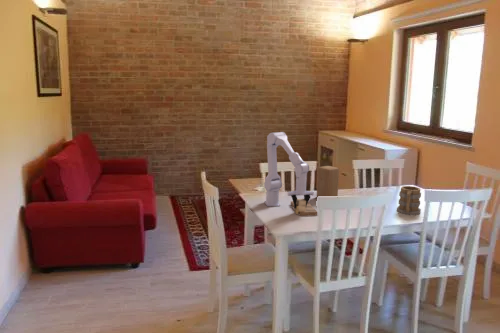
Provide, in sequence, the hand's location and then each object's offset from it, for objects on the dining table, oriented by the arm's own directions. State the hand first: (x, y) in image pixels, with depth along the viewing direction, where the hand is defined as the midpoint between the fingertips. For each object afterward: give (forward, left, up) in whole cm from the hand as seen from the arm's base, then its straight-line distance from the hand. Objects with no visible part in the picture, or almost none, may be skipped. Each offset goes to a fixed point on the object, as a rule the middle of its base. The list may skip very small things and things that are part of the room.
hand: (300, 207), depth 252 cm
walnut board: (-7, +4, -3) cm, 9 cm away
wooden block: (-31, +26, -4) cm, 41 cm away
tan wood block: (0, 0, -3) cm, 3 cm away
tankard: (+4, +63, -4) cm, 63 cm away
